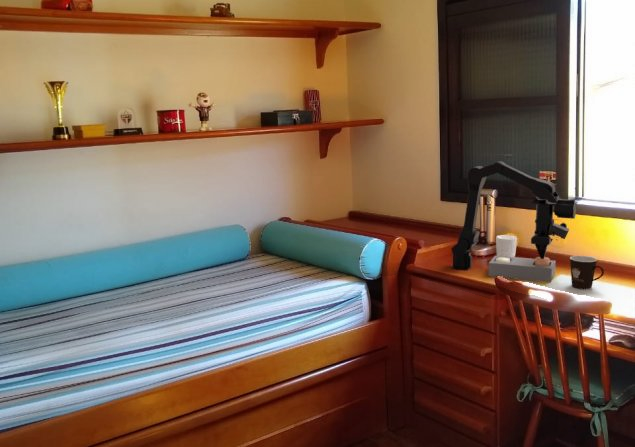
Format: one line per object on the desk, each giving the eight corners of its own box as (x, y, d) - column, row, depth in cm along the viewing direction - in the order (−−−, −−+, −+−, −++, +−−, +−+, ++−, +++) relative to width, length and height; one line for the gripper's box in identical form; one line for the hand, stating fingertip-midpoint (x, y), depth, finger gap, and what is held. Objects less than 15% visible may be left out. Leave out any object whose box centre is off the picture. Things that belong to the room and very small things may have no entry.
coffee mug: (563, 283, 225) (565, 256, 223) (587, 282, 226) (589, 255, 224) (580, 293, 214) (581, 264, 212) (604, 292, 215) (606, 263, 213)
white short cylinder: (494, 271, 239) (494, 259, 238) (497, 268, 244) (497, 256, 243) (508, 272, 237) (508, 261, 236) (510, 269, 241) (511, 258, 241)
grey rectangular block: (488, 275, 237) (488, 262, 236) (494, 267, 248) (495, 255, 247) (551, 282, 227) (551, 268, 226) (554, 273, 238) (555, 260, 237)
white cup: (515, 259, 260) (516, 235, 258) (516, 264, 253) (517, 239, 251) (495, 258, 262) (495, 234, 260) (495, 263, 254) (496, 238, 252)
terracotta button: (533, 271, 233) (534, 259, 232) (535, 267, 237) (536, 256, 236) (548, 272, 231) (548, 260, 230) (549, 269, 235) (550, 257, 234)
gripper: (565, 222, 218) (563, 267, 221) (570, 213, 235) (568, 254, 238) (531, 220, 223) (529, 263, 226) (538, 211, 240) (536, 252, 243)
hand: (542, 258), depth 233 cm, fingers closed, pressing on terracotta button
